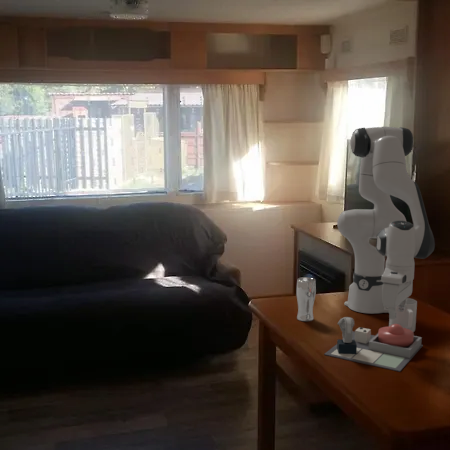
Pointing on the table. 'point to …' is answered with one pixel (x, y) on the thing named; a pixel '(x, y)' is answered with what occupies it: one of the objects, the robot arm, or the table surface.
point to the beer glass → (305, 298)
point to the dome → (396, 336)
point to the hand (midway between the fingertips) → (397, 314)
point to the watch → (346, 337)
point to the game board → (378, 351)
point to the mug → (406, 315)
